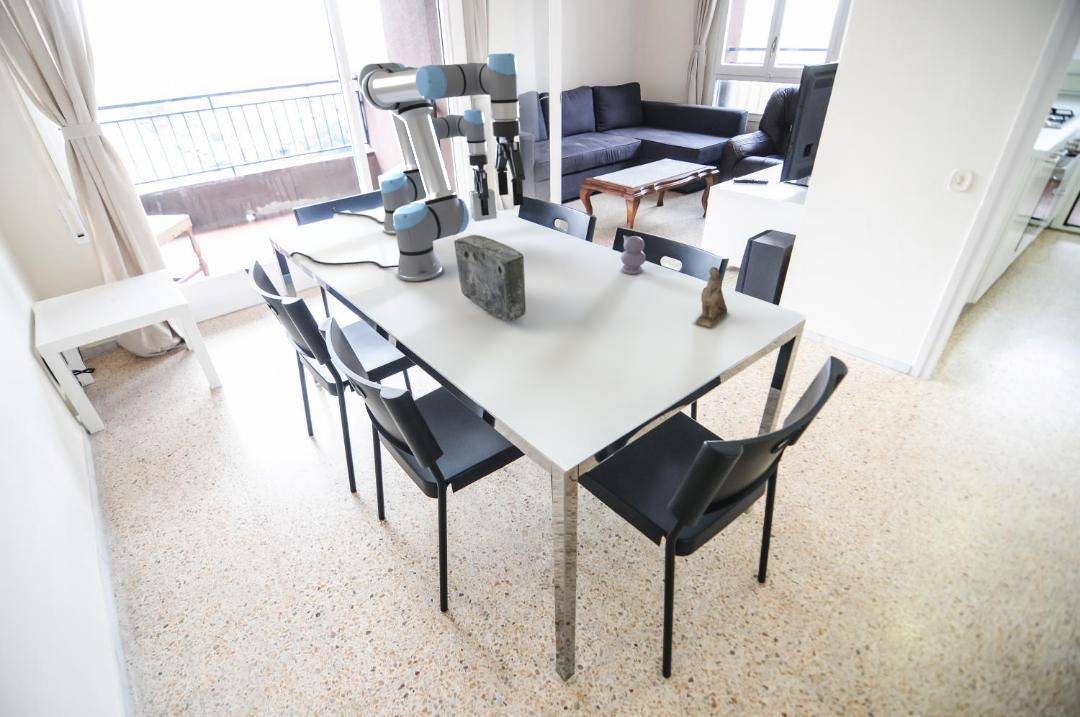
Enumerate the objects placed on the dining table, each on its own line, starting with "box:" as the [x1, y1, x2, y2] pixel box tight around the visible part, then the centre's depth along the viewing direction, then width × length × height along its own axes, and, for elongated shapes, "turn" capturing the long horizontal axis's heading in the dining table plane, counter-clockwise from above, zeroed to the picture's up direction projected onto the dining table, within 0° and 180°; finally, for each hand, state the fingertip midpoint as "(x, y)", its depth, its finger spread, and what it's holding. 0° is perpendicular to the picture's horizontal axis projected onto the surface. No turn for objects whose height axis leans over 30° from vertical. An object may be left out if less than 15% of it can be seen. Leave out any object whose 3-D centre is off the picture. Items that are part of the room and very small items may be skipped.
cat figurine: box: [620, 234, 646, 275], centre depth 168 cm, size 9×8×12 cm
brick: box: [468, 188, 498, 222], centre depth 204 cm, size 9×6×11 cm, turn 111°
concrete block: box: [453, 234, 527, 322], centre depth 143 cm, size 27×9×20 cm, turn 36°
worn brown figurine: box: [695, 266, 728, 328], centre depth 135 cm, size 12×6×18 cm, turn 136°
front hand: (510, 199), depth 146 cm, fingers open, 13 cm apart
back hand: (483, 213), depth 206 cm, fingers closed on brick, 5 cm apart
